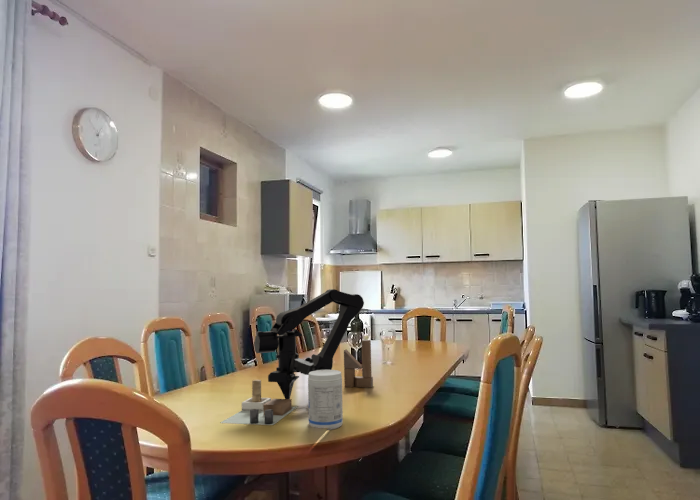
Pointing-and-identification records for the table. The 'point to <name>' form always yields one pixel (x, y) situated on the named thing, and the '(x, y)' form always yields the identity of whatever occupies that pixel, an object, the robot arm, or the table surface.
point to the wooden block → (358, 367)
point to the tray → (254, 404)
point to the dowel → (256, 391)
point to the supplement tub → (325, 399)
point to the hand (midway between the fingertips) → (287, 399)
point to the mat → (244, 418)
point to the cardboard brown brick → (279, 406)
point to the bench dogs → (255, 416)
